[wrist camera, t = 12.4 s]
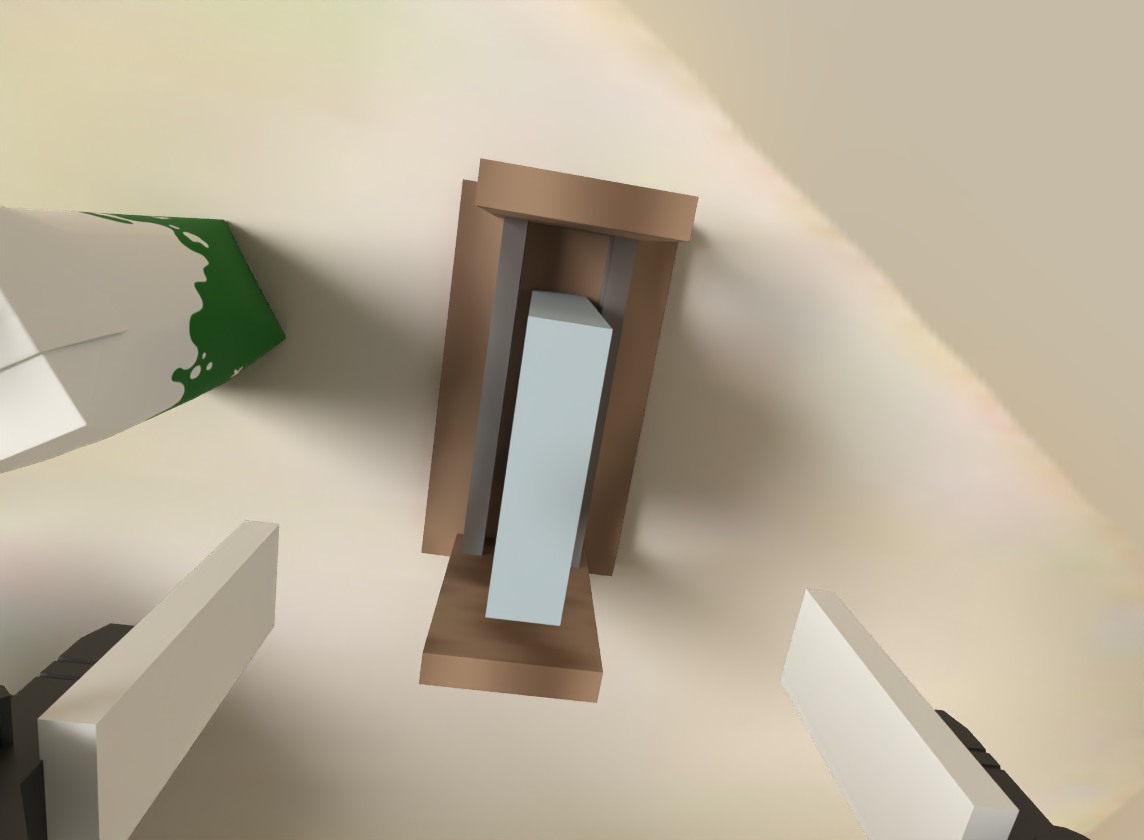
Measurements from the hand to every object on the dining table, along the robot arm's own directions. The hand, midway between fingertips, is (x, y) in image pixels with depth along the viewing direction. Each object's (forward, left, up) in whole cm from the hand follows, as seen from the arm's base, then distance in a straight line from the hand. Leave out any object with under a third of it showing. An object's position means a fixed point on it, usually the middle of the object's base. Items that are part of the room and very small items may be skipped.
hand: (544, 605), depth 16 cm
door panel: (0, 0, -23) cm, 23 cm away
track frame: (0, 0, -24) cm, 24 cm away
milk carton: (-20, +2, -24) cm, 31 cm away
